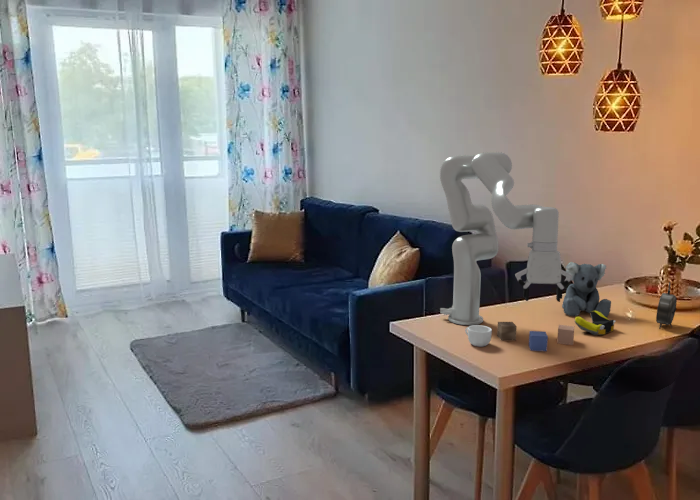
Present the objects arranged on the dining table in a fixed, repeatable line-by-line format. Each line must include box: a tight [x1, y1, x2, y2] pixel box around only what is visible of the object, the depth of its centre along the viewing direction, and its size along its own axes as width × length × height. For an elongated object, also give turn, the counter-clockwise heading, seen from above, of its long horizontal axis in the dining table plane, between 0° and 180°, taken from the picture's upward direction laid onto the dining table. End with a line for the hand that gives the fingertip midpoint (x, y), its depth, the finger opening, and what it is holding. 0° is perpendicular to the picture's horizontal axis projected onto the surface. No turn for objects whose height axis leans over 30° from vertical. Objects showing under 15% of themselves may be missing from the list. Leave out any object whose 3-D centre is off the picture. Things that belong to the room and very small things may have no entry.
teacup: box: [464, 324, 493, 348], centre depth 215 cm, size 10×8×5 cm
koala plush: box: [561, 261, 612, 318], centre depth 252 cm, size 17×18×20 cm
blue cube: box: [528, 330, 549, 352], centre depth 211 cm, size 5×5×5 cm
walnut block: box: [496, 321, 517, 341], centre depth 221 cm, size 5×5×5 cm
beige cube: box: [556, 324, 575, 346], centre depth 217 cm, size 5×5×5 cm
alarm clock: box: [655, 281, 678, 330], centre depth 233 cm, size 11×5×16 cm, turn 145°
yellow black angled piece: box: [574, 311, 616, 336], centre depth 229 cm, size 15×6×10 cm
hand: (542, 300), depth 208 cm, fingers open, 9 cm apart
